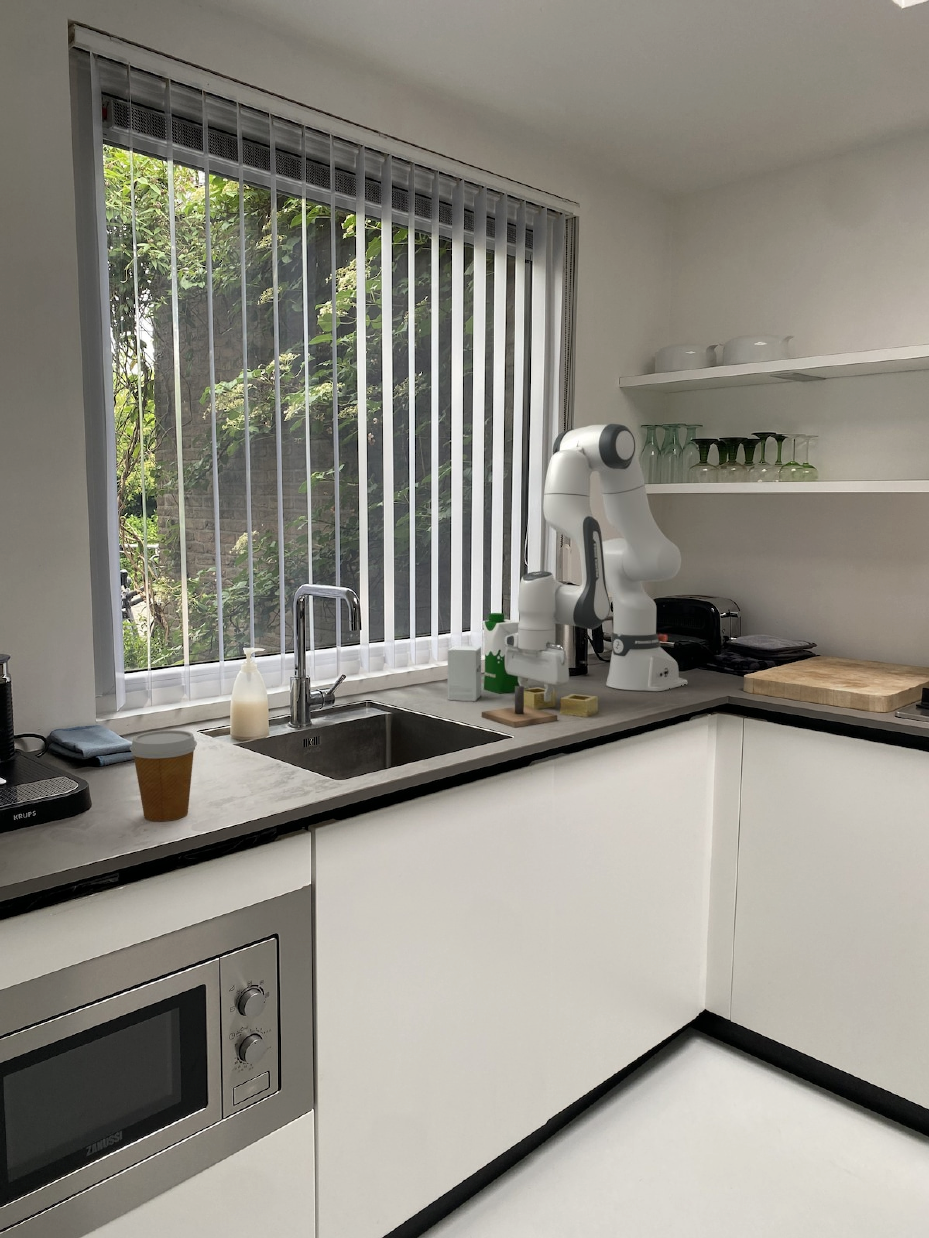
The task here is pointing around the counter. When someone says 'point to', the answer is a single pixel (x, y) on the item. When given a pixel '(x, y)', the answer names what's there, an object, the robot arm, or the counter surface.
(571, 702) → the link
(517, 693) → the stand
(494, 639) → the milk carton
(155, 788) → the disposable coffee cup
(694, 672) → the counter surface
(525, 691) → the link
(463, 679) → the supplement box
